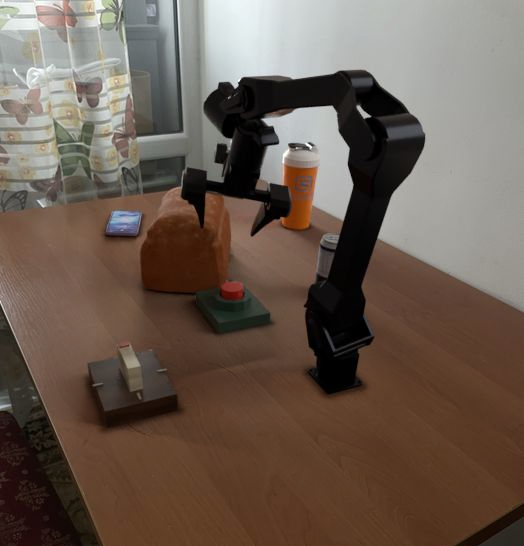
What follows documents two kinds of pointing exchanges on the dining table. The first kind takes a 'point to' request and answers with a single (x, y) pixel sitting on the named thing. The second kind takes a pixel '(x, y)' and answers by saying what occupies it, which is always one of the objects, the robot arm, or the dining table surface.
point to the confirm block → (232, 310)
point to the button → (232, 290)
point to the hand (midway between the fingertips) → (226, 231)
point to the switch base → (136, 404)
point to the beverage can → (326, 255)
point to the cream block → (129, 366)
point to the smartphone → (124, 223)
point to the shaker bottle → (300, 182)
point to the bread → (186, 246)
